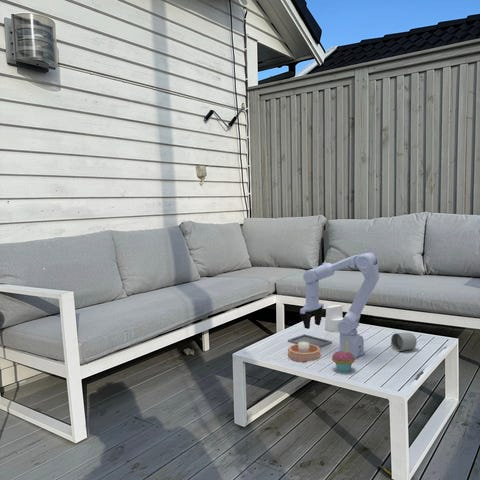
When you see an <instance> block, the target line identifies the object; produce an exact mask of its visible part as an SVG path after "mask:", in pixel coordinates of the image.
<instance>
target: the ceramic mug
mask: <svg viewBox="0 0 480 480" xmlns="http://www.w3.org/2000/svg"><path fill="white" fill-rule="evenodd" d="M390 341H391V342H390V345H391V347H392V348H393V349H394V350H395V351H396V352H403V351H408V350H409V351H410V350H413V349H414V348H416V346H417V342H418V341H417V338H416V336H415V335H414V333H412V332H395V333H393V334H391V339H390Z"/></svg>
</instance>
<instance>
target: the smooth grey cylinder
mask: <svg viewBox="0 0 480 480" xmlns="http://www.w3.org/2000/svg"><path fill="white" fill-rule="evenodd" d="M298 352H299V353H309V342H306V341H301V342H298Z"/></svg>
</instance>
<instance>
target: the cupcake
mask: <svg viewBox="0 0 480 480" xmlns="http://www.w3.org/2000/svg"><path fill="white" fill-rule="evenodd" d="M347 348H348V342H347V343H346V350H345V351H339V350H337V351H338V352H337V351H335V352H334V353H333V354H332V357H331V360H332V362H334V363H335V365H336V369H337V371H338V372H342V373H347V372H349V371H351V368H352V365H353V363H355V360H356V358H355V357H354V355H352V354H351V353H350V352H348V351H347Z"/></svg>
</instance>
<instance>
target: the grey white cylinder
mask: <svg viewBox="0 0 480 480" xmlns="http://www.w3.org/2000/svg"><path fill="white" fill-rule="evenodd" d="M343 318H344V317H343V305H342V304H334V305H333V304H332V305H329V306H326V307H325V317H324V319H325V321H324V329H325V331H327V332H330V333H340V331H339V330H338V323H339V321H341V320H342V319H343Z"/></svg>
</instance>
